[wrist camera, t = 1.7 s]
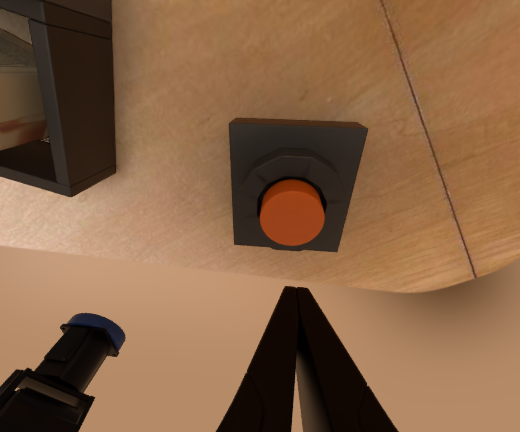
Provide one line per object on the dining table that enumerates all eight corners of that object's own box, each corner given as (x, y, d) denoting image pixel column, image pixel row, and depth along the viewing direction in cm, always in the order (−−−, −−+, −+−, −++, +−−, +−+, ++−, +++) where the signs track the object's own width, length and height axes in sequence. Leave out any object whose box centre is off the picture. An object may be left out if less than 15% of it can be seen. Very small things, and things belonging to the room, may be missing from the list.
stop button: (315, 231, 15) (319, 248, 14) (261, 227, 15) (259, 244, 14) (325, 180, 13) (330, 193, 12) (262, 177, 14) (260, 189, 12)
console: (332, 235, 19) (342, 269, 16) (238, 229, 20) (229, 260, 17) (357, 122, 15) (380, 135, 11) (235, 117, 15) (221, 128, 12)
